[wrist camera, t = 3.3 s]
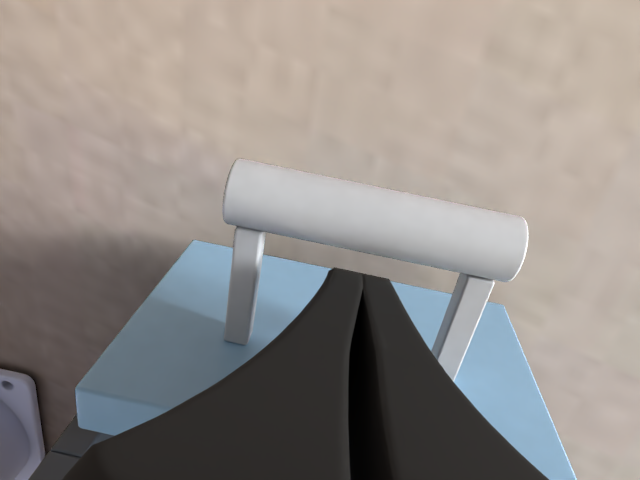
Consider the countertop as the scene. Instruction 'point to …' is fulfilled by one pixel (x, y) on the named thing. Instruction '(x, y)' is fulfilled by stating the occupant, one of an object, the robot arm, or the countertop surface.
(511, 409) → the blue drawer
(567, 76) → the countertop surface
